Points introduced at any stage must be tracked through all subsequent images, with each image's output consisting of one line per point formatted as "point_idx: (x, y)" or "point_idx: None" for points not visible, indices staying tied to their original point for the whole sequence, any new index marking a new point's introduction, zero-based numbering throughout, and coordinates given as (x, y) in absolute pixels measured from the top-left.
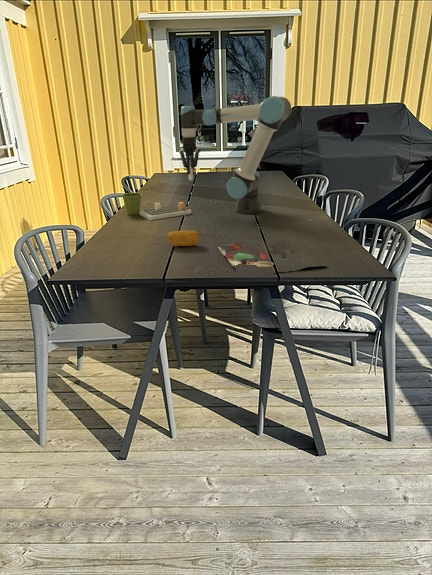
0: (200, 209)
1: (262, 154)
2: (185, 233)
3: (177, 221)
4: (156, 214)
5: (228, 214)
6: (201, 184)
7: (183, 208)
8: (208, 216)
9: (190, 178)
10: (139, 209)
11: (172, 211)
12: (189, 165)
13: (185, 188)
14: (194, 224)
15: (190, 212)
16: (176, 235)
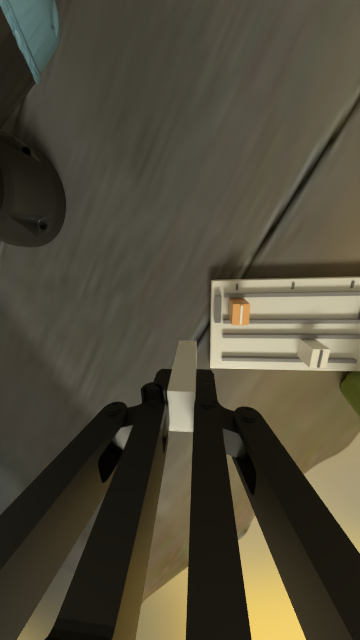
0: (159, 313)
1: None
2: None
3: (312, 199)
4: (351, 291)
5: (105, 189)
6: None
7: (234, 299)
8: (180, 204)
9: (196, 349)
10: (358, 380)
11: (283, 292)
12: (203, 423)
13: None
14: (289, 107)
15: (214, 280)
16: None
